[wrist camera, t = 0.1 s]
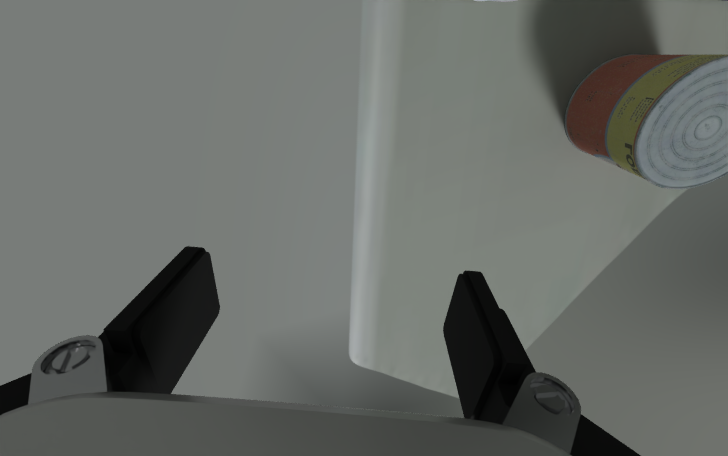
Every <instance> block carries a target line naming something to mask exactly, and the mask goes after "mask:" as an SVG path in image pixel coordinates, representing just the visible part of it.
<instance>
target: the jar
mask: <svg viewBox="0 0 728 456" xmlns="http://www.w3.org/2000/svg"><path fill="white" fill-rule="evenodd" d="M474 1H487V0H474ZM489 1H498V2H508V1H516V0H489Z"/></svg>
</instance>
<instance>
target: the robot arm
mask: <svg viewBox="0 0 728 456" xmlns="http://www.w3.org/2000/svg"><path fill="white" fill-rule="evenodd" d="M219 310H220V305H219V299H218V294H217V289H216V284H215V279H214V273H213V268H212V263H211V257H210V254H209V252H206V251H205V249H204V248H199V247H189V246H188V247H185V248H184V249H183V250H182V251H181V252H180V253H179V254H178V255H177V256H176V257H175V258H174V259H173V260H172V261H171V262H170V263H169V264H168V265H167V266H166V267H165V268H164V269H163V270H162V271H161V272H160V273H159V274H158V275H157V276H156V277H155V278H154V279H153V280H152V281H151V282H150V283H149V284H148V285H147V286H146V287H145V288H144V289H143V290H142V291H141V292H140V293H139V294H138V295H137V296H136V297H135V298H134V299H133V300H132V301H131V302H130V303H129V304H128V305H127V306H126V307H125V308H124V309H123V310H122V312H120V313H119V314H118V316H116V318H114V319H113V320H112V321H111V322H110V323H109V324H108V325H107V326H106V328H104V332H103V333H102V334H101V335H100V336H99V337H98V338H97V337H96V336H89V335H86V336H78V337H74V338H70V339H68V340H65V341H63V342H60V343H58V344H56V345H55V346H53V347H51V348H50V349H48V350H47V351H46V352H44V353H43V354H42V355H41V356H40V357H39V358H38V359H37V361H36V362H35V364H34V366H33V369H32V373H31V374H28V375H26V376H23V377H21V378H18V379H16V380H13V381H11V382H9V383H6V384H4V385H1V386H0V456H640V455H639V454H637V453H636V452H635V451H633V450H632V449H630V448H629V447H627V446H626V445H625V444H623V443H622V442H620V441H619V440H617V439H616V438H614V437H613V436H612V435H610V434H609V433H607V432H606V431H604V430H603V429H602V428H600V427H599V426H597V425H596V424H594V423H593V422H591V421H590V420H589V419H587V418H586V417H584V416H583V415H581V406H580V403H579V400H578V398H577V397H576V395H575V394H574V392H573V391H572V390H571V389H570V388H569V387H568V386H567V385H566V384H565V383H563V382H562V381H560V380H559V379H558V378H555V377H553V376H551V375H549V374H545V373H541V372H540V373H539V372H536V371H535V369H534V368H533V365H532V364H531V362H530V360H529V358H528V356H527V354H526V352H525V350H524V348H523V346H522V344H521V342H520V340H519V338H518V336H517V334H516V332H515V330H514V328H513V326H512V324H511V322H510V320H509V319H508V317H507V315H506V313H505V311H504V310H502V309H500V308H499V306H498V304H497V302H496V300H495V298H494V296H493V294H492V292H491V290H490V288H489V286H488V284H487V282H486V280H485V278H484V276H483V274H482V273H481V272H477V271H464V273H463V274H459V275H458V278H457V281H456V285H455V288H454V292H453V295H452V299H451V302H450V305H449V309H448V312H447V316H446V319H445V323H444V328H443V332H444V337H445V341H446V345H447V349H448V354H449V358H450V362H451V366H452V370H453V374H454V378H455V382H456V386H457V390H458V394H459V398H460V402H461V406H462V410H463V414H464V417H465V418H456V417H447V416H437V415H426V414H415V413H405V412H393V411H382V410H369V409H357V408H346V407H333V406H322V405H308V404H297V403H284V402H270V401H258V400H245V399H232V398H218V397H205V396H190V395H176V394H171V392H172V390H173V389H174V387H175V386H176V384H177V382H178V381H179V379H180V377H181V376H182V374H183V372H184V371H185V369H186V367H187V366H188V364H189V363H190V361H191V359H192V357H193V356H194V354H195V352H196V351H197V349H198V348H199V346H200V344H201V342H202V341H203V339H204V337H205V336H206V334H207V333H208V331H209V329H210V328H211V326H212V324H213V323H214V321H215V319H216V318H217V316H218V314H219Z"/></svg>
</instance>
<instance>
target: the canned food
mask: <svg viewBox="0 0 728 456" xmlns="http://www.w3.org/2000/svg"><path fill="white" fill-rule="evenodd" d="M565 131H566V134H567V137H568V139H569V140H570V142H571V143H572V144H573V145H574V146H575V147H576V148H577V149H579V150H580V151H582V152H585V153H588V154H591V155H593V156H595V157H598V158H600V159H602V160H604V161H606V162H609V163H611V164H613V165H615V166H617V167H620V168H622V169H624V170H626V171H628V172H631V173H633V174H635V175H637V176H639V177H642V178H644V179H646V180H647V181H649V182H650V183H652V184H654V185H656V186H659V187H662V188H667V189H688V188H694V187H698V186H701V185H704V184H707V183H710V182H712V181H715V180H717V179H719V178H721V177H723V176H725V175H727V174H728V55H642V54H628V55H622V56H619V57H616V58H613V59H611V60H608V61H607V62H605V63H603V64H601V65H600V66H598V67H597V68H595V69H594V70H593V71H592V72H590V73H589V74H588V75H587V76H586V77H585V78H584V79H583V80H582V82H581V83H580V84H579V85H578V87H577V88H576V90H575V91H574V93H573V94H572V96H571V98H570V101H569V103H568V106H567V109H566V113H565Z"/></svg>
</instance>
